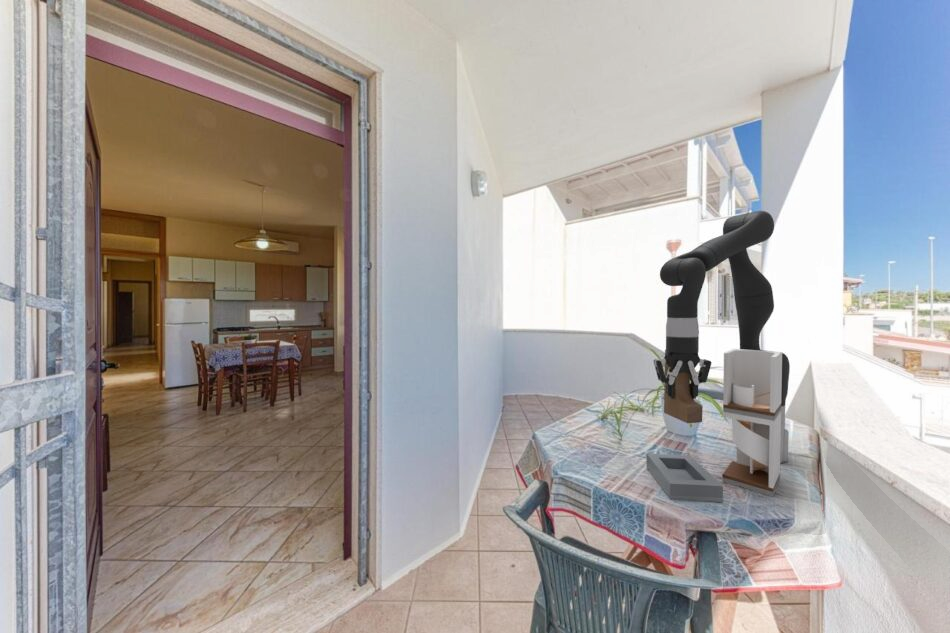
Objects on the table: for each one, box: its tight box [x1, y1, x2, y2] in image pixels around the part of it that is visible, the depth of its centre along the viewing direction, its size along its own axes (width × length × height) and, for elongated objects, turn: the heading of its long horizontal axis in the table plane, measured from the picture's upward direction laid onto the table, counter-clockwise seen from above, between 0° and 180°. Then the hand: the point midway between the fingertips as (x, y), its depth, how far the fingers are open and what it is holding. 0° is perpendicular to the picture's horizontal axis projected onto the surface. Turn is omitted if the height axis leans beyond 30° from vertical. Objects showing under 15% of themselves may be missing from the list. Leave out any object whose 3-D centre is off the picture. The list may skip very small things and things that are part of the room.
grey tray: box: [646, 453, 724, 503], centre depth 97 cm, size 12×18×4 cm
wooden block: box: [663, 349, 703, 424], centre depth 96 cm, size 9×4×18 cm, turn 9°
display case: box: [721, 348, 783, 498], centre depth 96 cm, size 11×11×35 cm
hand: (681, 397), depth 96 cm, fingers closed on wooden block, 4 cm apart
